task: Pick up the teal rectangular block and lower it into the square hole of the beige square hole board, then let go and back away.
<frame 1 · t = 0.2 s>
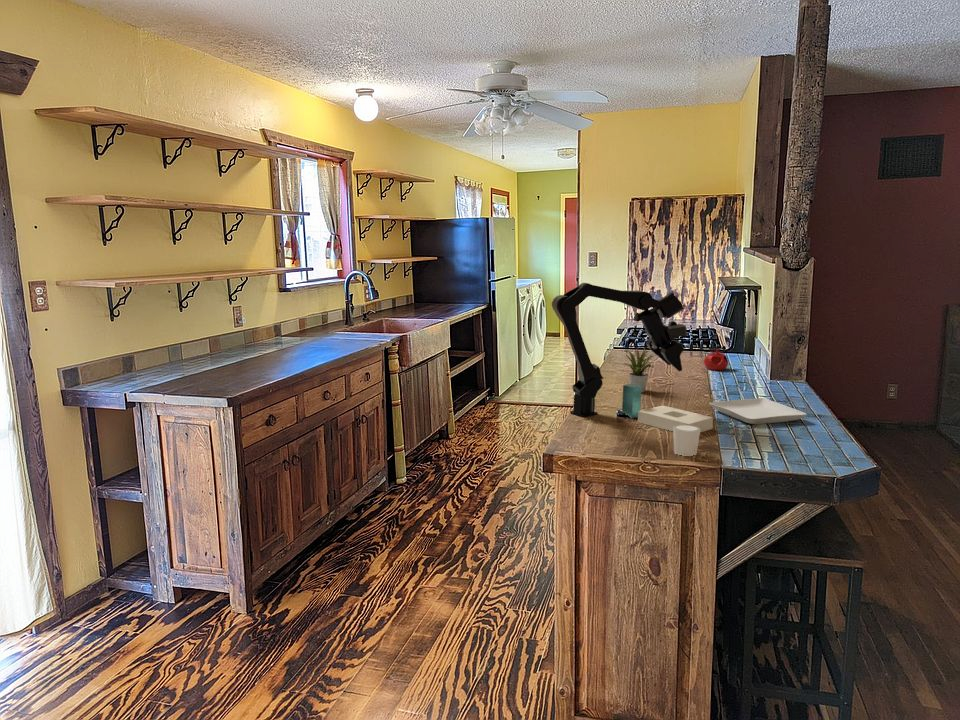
hand: (675, 367, 214), 14 cm above the countertop, tool tilted 30°, fingers open, 9 cm apart
pomegranate: (715, 369, 288), on the countertop
salad plate: (755, 418, 211), on the countertop
beige square hole board: (674, 425, 200), on the countertop
teal rectangular block: (630, 416, 210), on the countertop
house plant: (639, 392, 245), on the countertop
white tapered cup: (685, 454, 174), on the countertop
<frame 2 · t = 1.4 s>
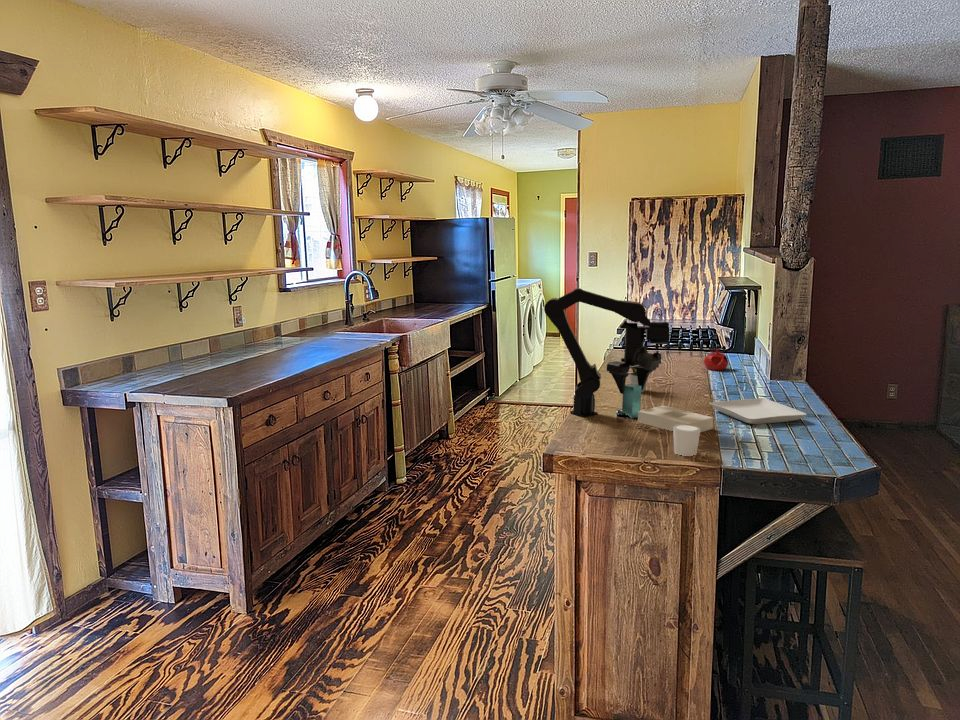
hand: (631, 391, 209), 8 cm above the countertop, tool pointing down, fingers open, 9 cm apart
nothing on the countertop moved.
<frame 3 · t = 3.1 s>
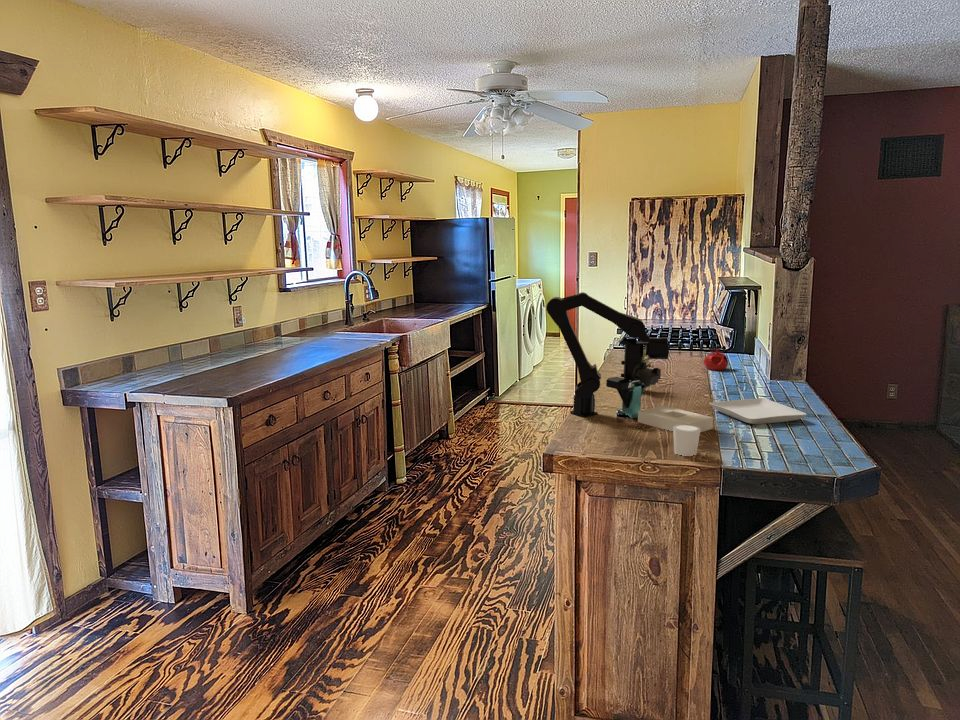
hand: (631, 406, 210), 3 cm above the countertop, tool pointing down, fingers closed on teal rectangular block, 4 cm apart
teal rectangular block: (630, 416, 210), on the countertop, touching gripper
everything else where it was.
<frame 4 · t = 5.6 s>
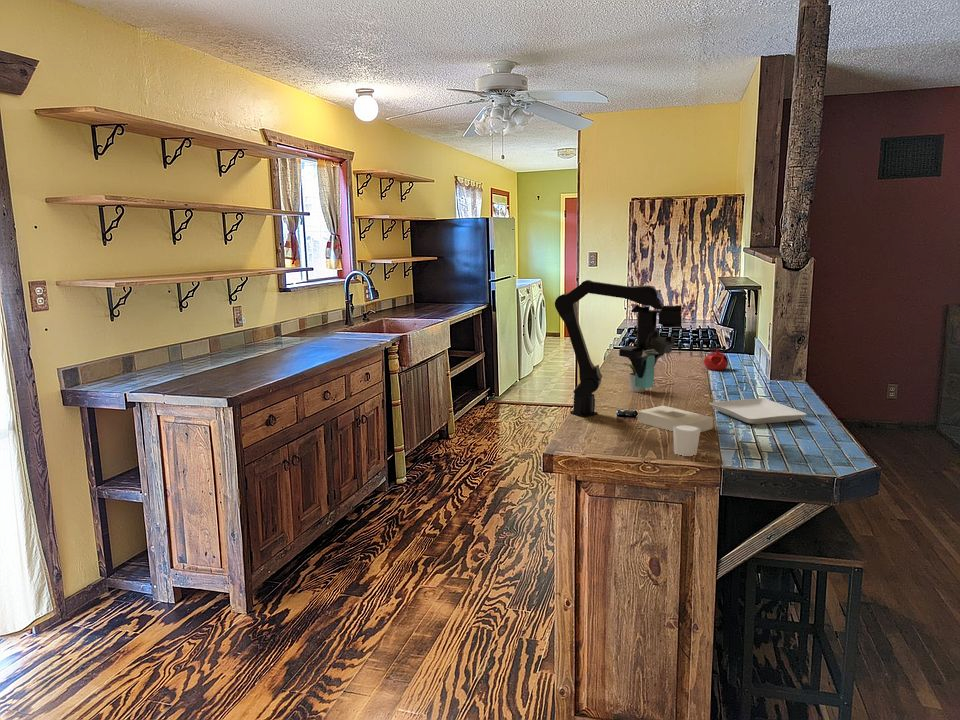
hand: (644, 377, 205), 13 cm above the countertop, tool pointing down, fingers closed on teal rectangular block, 4 cm apart
teal rectangular block: (644, 386, 206), point 10 cm above the countertop, touching gripper
everything else where it was.
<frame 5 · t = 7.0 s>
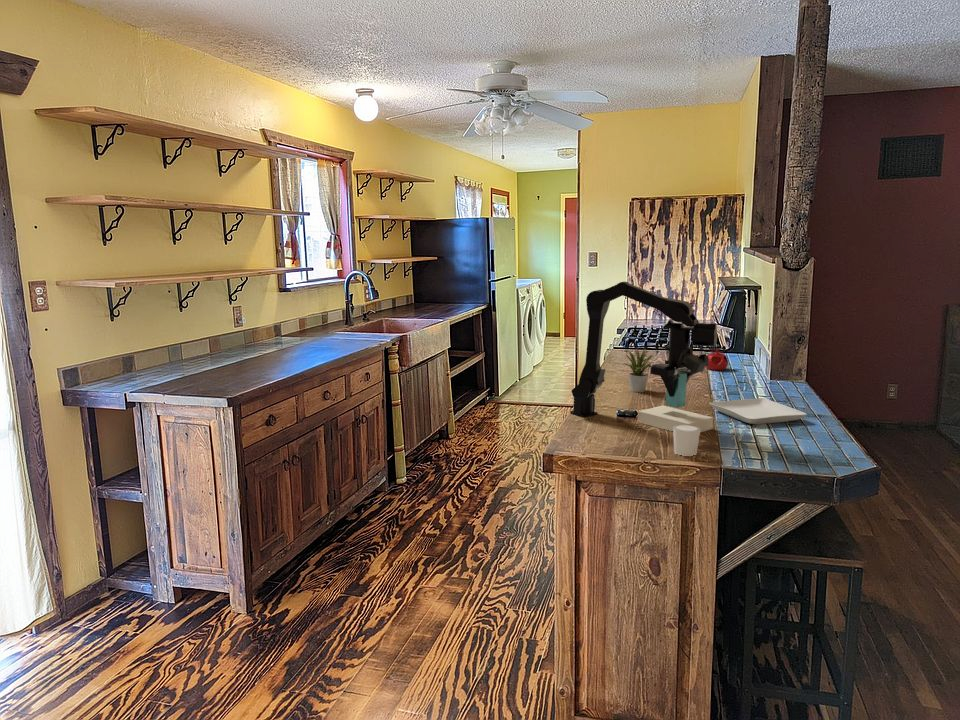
hand: (675, 395, 198), 9 cm above the countertop, tool pointing down, fingers closed on teal rectangular block, 4 cm apart
teal rectangular block: (675, 405, 199), point 6 cm above the countertop, touching gripper
everything else where it was.
when the fingers open (4 cm above the countertop, at t = 8.2 s): teal rectangular block drops 2 cm, resting in beige square hole board.
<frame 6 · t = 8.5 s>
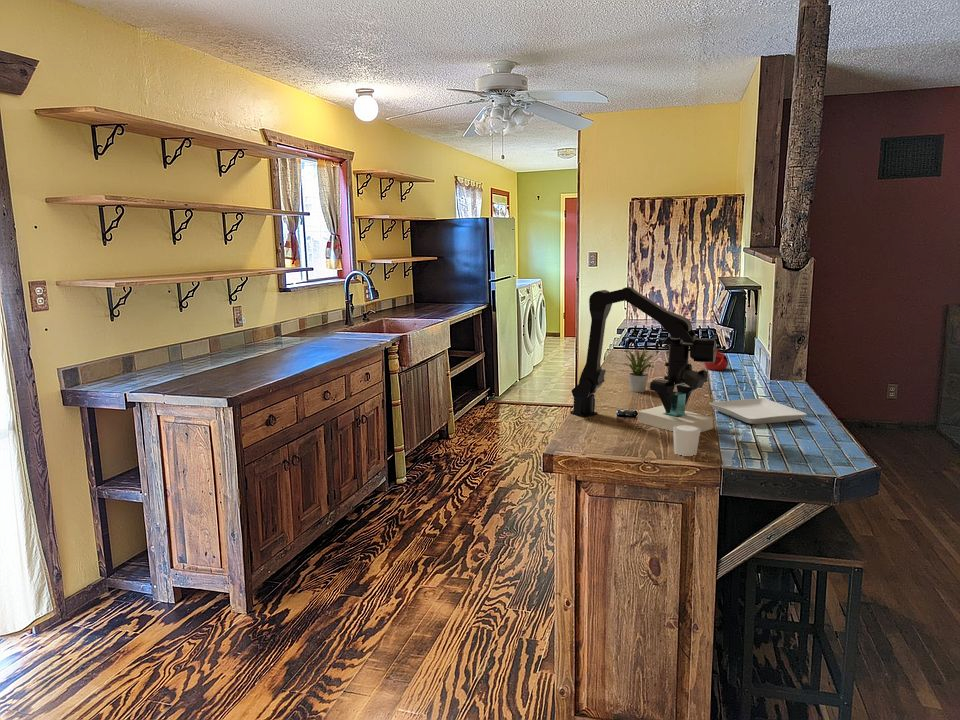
hand: (675, 411, 199), 4 cm above the countertop, tool pointing down, fingers open, 7 cm apart
teal rectangular block: (674, 425, 200), resting in beige square hole board
everything else where it was.
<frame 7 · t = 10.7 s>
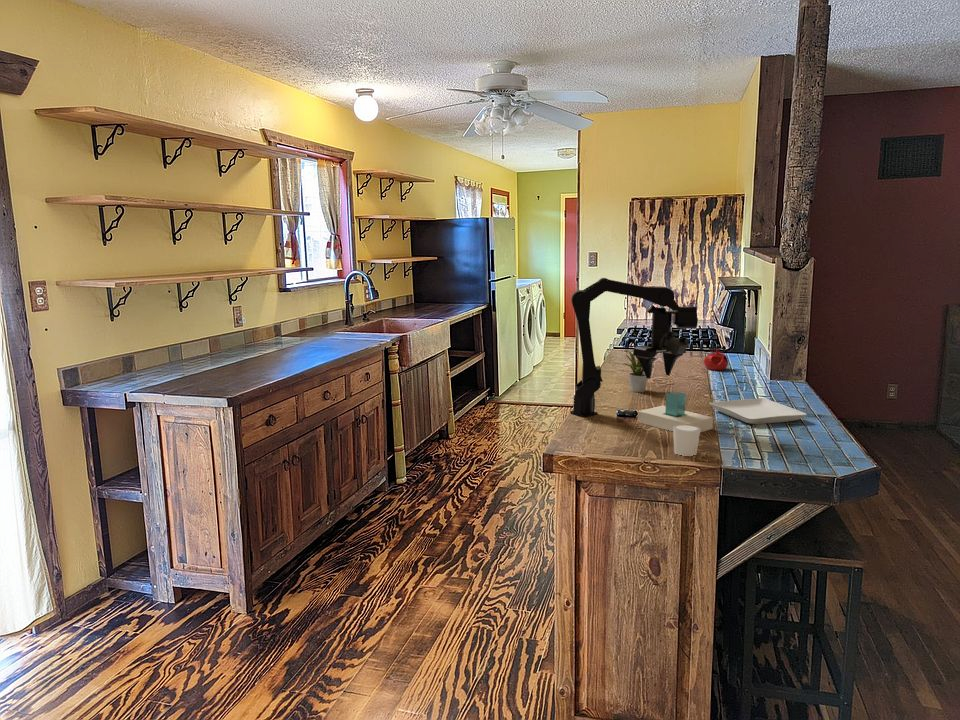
hand: (658, 376, 208), 13 cm above the countertop, tool pointing down, fingers open, 9 cm apart
nothing on the countertop moved.
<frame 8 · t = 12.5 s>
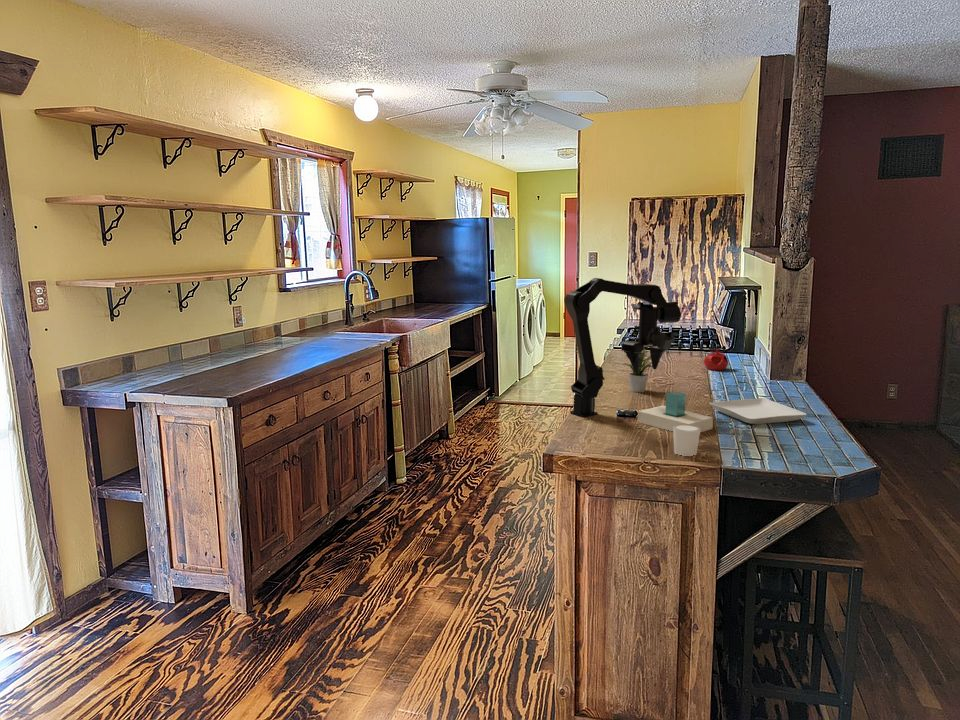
hand: (645, 370, 216), 13 cm above the countertop, tool pointing down, fingers open, 9 cm apart
nothing on the countertop moved.
at the end: teal rectangular block 0.0 cm off-centre on the beige square hole board, point 0.0 cm above the beige square hole board's base; teal rectangular block tilted 0°; the gripper is holding nothing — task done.
